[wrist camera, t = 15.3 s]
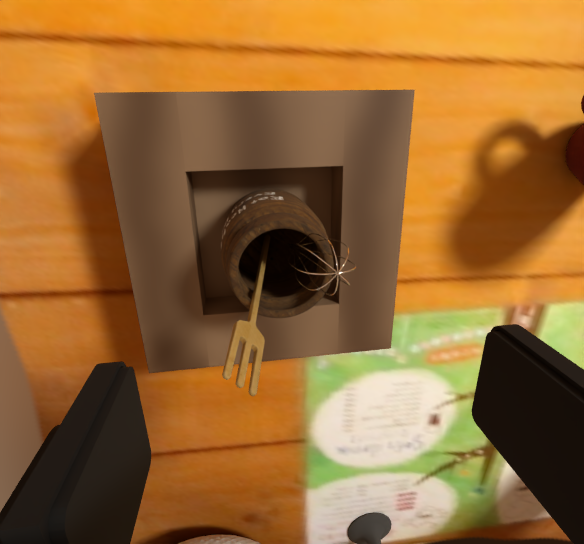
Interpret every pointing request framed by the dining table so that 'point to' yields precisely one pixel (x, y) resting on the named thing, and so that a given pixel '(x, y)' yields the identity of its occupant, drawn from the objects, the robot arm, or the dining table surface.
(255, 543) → the cereal bowl
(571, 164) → the mug
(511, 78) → the dining table surface
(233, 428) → the dining table surface
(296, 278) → the utensil holder
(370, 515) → the sundae
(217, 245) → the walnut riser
